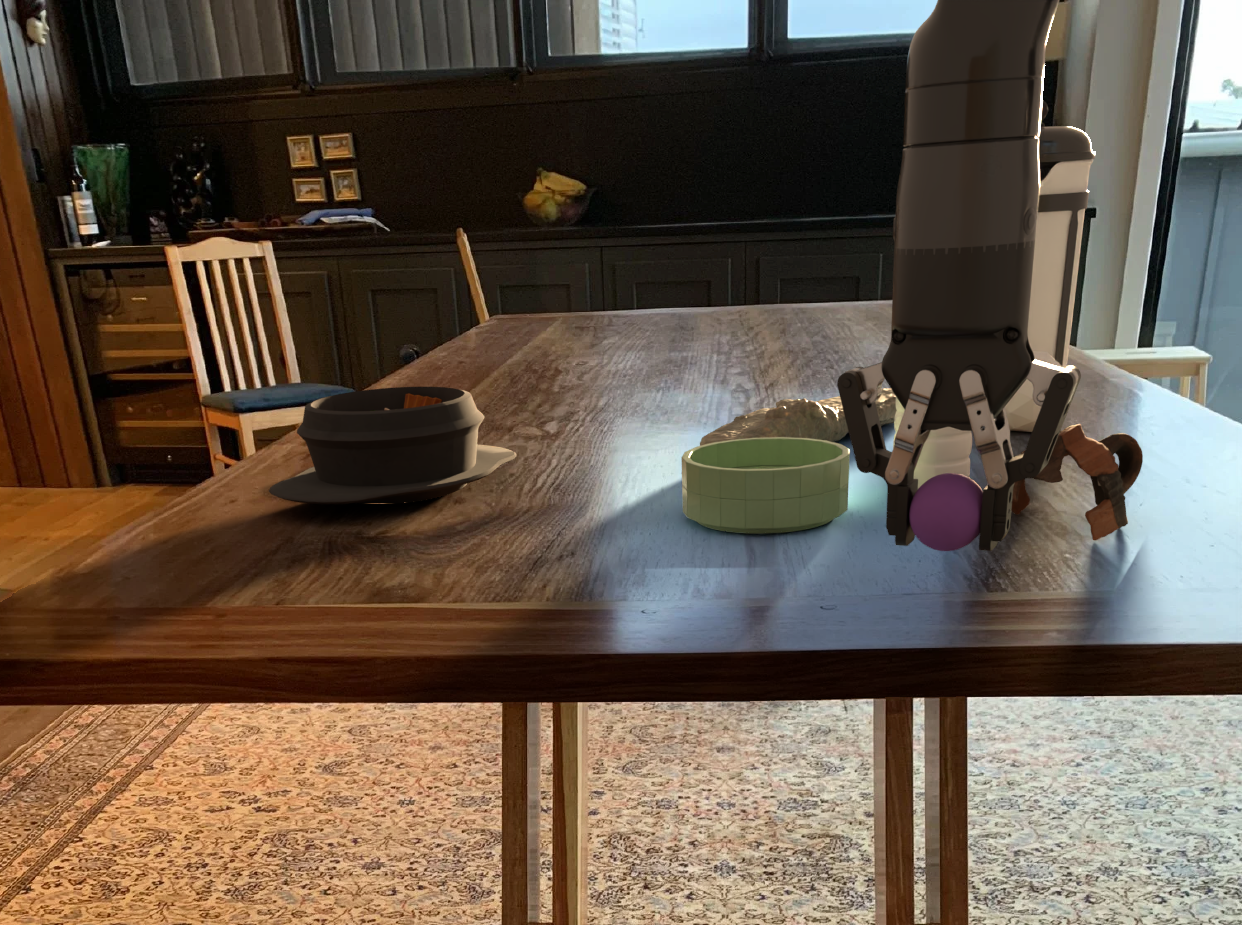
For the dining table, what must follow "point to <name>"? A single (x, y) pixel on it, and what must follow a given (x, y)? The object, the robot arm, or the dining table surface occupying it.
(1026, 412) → the geometric ball
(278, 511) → the dining table surface
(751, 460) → the bowl
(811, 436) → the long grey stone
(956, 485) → the ball
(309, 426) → the grey pot on saucer
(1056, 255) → the coffee press
